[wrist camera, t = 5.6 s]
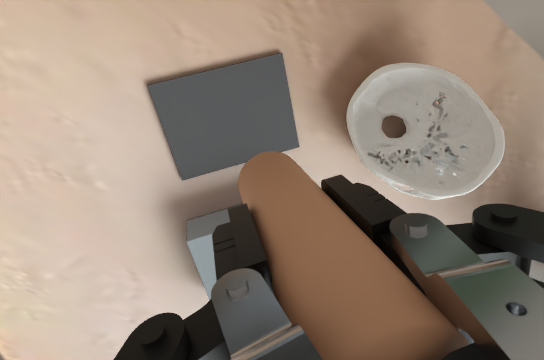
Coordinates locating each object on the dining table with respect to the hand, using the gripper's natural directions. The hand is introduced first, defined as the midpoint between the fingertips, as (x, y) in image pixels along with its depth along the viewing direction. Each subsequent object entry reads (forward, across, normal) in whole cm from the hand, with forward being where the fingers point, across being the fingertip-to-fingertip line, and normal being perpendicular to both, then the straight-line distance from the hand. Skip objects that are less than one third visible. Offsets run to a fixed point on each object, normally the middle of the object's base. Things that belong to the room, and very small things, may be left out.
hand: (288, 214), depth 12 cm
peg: (+3, 0, 0) cm, 3 cm away
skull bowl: (+20, -17, +6) cm, 26 cm away
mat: (+19, 0, 0) cm, 19 cm away
